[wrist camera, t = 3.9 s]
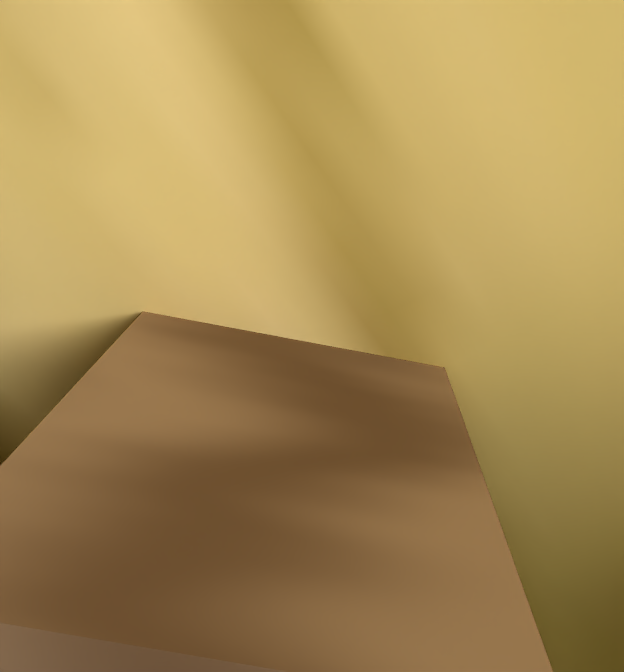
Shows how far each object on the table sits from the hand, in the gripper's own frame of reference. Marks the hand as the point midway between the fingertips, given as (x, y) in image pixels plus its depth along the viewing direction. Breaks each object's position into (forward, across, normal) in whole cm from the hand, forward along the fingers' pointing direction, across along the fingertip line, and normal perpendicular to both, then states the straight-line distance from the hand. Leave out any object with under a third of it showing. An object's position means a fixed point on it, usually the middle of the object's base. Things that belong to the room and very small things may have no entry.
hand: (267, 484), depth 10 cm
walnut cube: (+1, 0, 0) cm, 1 cm away
